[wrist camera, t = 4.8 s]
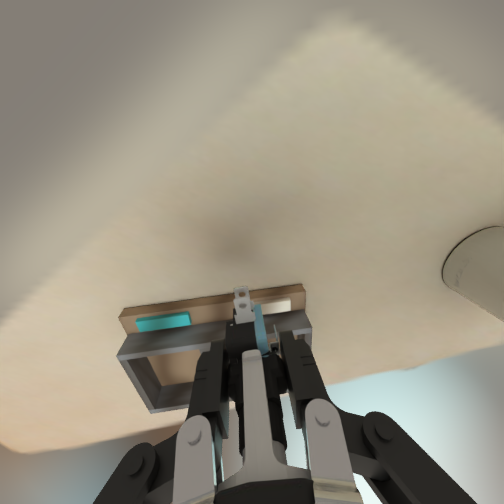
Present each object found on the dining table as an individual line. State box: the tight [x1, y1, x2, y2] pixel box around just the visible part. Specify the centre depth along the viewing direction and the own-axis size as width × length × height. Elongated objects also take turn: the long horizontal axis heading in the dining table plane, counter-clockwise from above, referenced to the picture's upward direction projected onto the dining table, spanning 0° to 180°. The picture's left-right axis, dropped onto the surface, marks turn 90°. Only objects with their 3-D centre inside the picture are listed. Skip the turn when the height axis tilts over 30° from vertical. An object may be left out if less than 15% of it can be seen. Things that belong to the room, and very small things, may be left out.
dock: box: [116, 284, 312, 414], centre depth 27 cm, size 22×15×4 cm
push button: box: [215, 286, 315, 504], centre depth 9 cm, size 7×5×10 cm
